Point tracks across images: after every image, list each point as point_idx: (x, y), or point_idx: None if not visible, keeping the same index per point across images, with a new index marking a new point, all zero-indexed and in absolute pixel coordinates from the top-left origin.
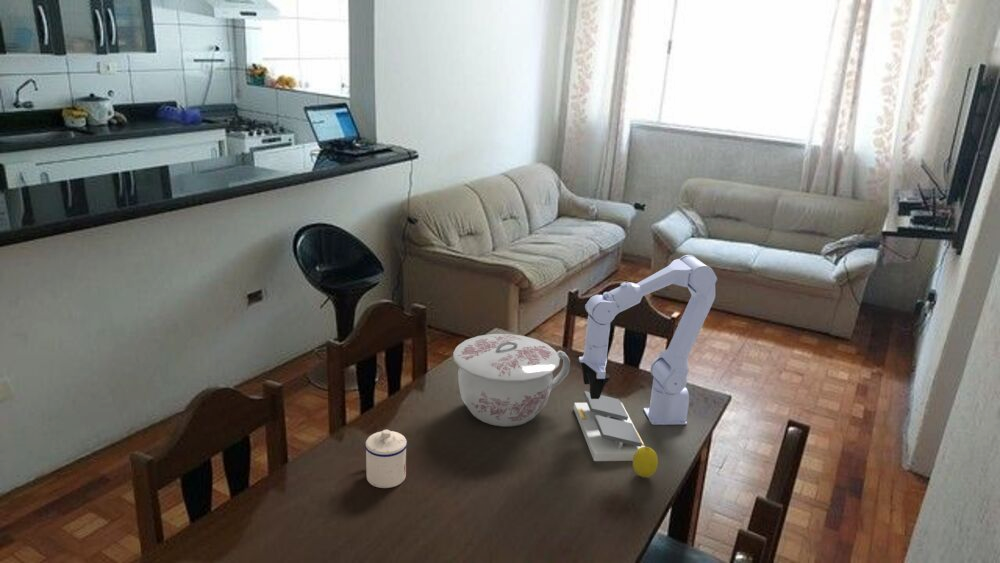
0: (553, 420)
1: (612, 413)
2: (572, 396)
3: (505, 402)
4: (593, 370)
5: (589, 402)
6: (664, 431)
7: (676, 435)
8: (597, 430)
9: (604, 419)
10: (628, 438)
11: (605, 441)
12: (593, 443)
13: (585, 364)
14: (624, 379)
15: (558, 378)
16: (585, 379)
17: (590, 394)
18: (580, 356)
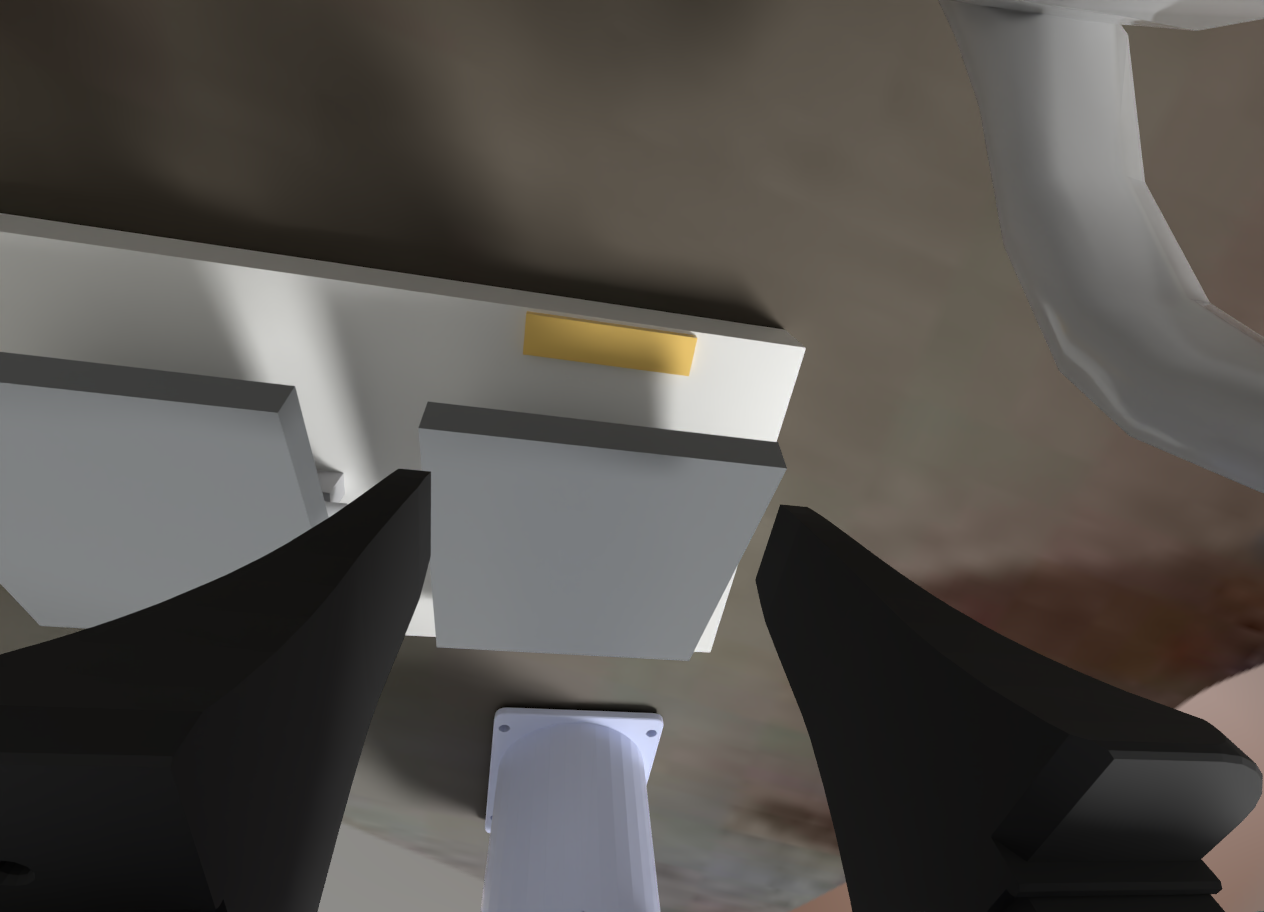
0: (662, 69)
1: (431, 570)
2: (957, 384)
3: None
4: (832, 738)
5: (550, 442)
6: (432, 733)
7: (391, 766)
8: (335, 383)
9: (237, 476)
10: (13, 564)
11: None
12: (97, 271)
13: (947, 744)
14: None
15: (1081, 213)
16: (802, 550)
17: (377, 488)
18: (1253, 797)
